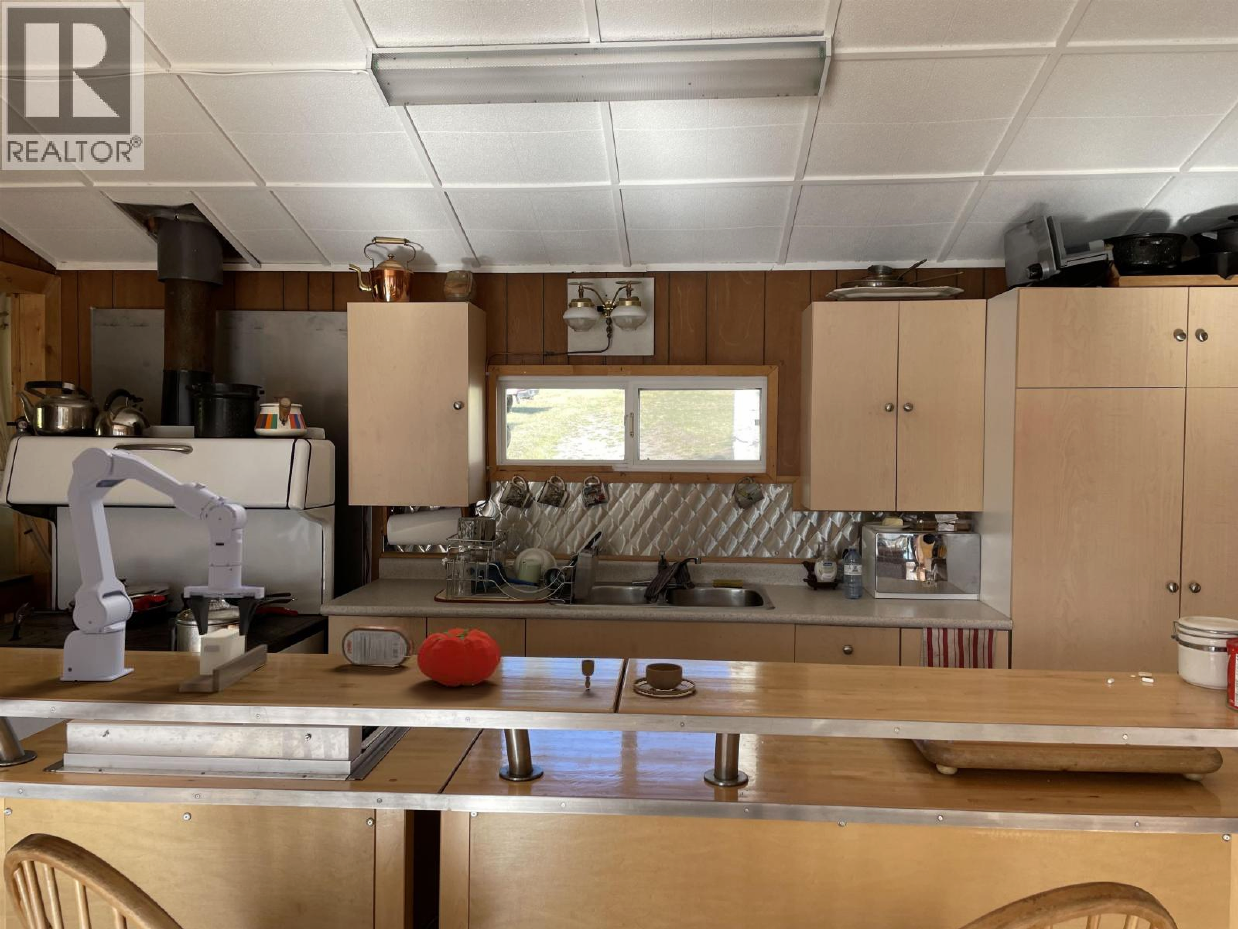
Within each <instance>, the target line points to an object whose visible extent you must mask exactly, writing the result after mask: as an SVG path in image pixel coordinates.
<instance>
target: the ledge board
mask: <svg viewBox="0 0 1238 929" xmlns="http://www.w3.org/2000/svg"><path fill="white" fill-rule="evenodd" d="M266 662H268V644H260V645H258V646H256V647H254V648H252V649H250V650H249V651H246V652H244V654H242V655H240V656H238V657H237V658H235V659H233V660H231V661H229V662H227V663H225V664H223V665H221V666H219V667H217V668H215V669H213V675H200V672H199V673H198V674H196V675H193V676H192V677H190V678H187V679H185V680H184V681H182V682H180V683H179V690H178V691H179V693H180V692H181V693H192V692H193V693H219V692H221V691H223V690H225V689H226V688H228V687H230V686H231V685H233V684H235V683H237V682H239V681H240V680H242V679H244V678H245V677H247V676H248V675H247V674H249V673H250V672H251V671H254V670H255V669H257V668H258V667H260V666H261V665H263V664H265V663H266ZM257 670H258V669H257ZM254 672H255V671H254ZM250 674H251V673H250ZM250 674H249V675H250ZM246 675H247V676H246Z"/></svg>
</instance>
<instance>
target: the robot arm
mask: <svg viewBox="0 0 1238 929" xmlns="http://www.w3.org/2000/svg"><path fill="white" fill-rule="evenodd" d="M71 465H72V470H73V473H72V476H71V479H70V482H69V485H68V488H67V494H66V496H67V501H68V502H67V503H68V506H69V513H70V517H71V524H72V529H73V535H74V541H75V548H76V553H77V559H78V564H79V570H80V576H81V582H82V584H81V585H80V587H79V588H78V590H77V591H76V593H75V595H74V599H75V600H74V601H75V607H74V609H73V613H72V619H73V622H74V624H75V626H76V627H77V628H78V630H77V629H76V630H73V631H71V632H70V633H69V634H68V635H67V637H66V638H65V641H64V646H63V664H62V667H63V668H62V669H63V670H62V677H60V679H59V681H75V680H77V682H78V681H84V682H85V681H87V682H88V681H93V682H96V681H98V682H100V681H102V682H103V681H104V682H106V681H107V682H108V681H113V680H116V679H118V678H120V677H123V676H125V675H127V674H130V673H132V672H134V671H135V670H134V668H125V647H126V645H125V643H126V641H125V639H126V624H127V620H130V618H131V617H132V614H133V611H134V605H133V602H132V599H131V598H130V597H129V595H128V594H127V592H126V587H125V585H124V584H123V582H122V581H120V580H119V579H118V578H117V576H116V573H115V566H114V565H115V564H114V559H113V555H112V548H111V543H110V537H109V532H108V526H107V520H106V514H105V509H104V502H103V499H104V498H105V497H106V496H107V495H108V493H109V492H110V491H111V490H112V489H113V488H115V487H117V486H118V485H120V484H121V483H123V482H125V481H127V480H136V481H138V482H140V483H142V484H144V485H146V486H148V487H150V488H152V489H154V490H156V491H158V492H160V493H162V494H164V495H166V496H168V497H170V498H171V499H172V501H173V506H174V507H175V509H178V510H180V511H182V512H184V513H185V514H187V515H189V516H191V517H192V518H194V519H196V520H198V521H200V522H202V523H204V525H205V527H206V529H207V531H209V556H208V557H209V558H208V559H209V561H208V582H207V583H208V585H201V586H199V585H198V586H195V585H194V586H193V585H191V586H190V585H189V586H185V587H184V590H183V598H188V600H186V605H187V607H188V608H189V610H190V612H191V613H192V615H193V618H194V620H195V623H196V627H197V631H198V636H206V635H208V632H209V631H208V630H209V611H210V606H211V601H212V598H231V599H232V598H233V599H234V598H241V599H239V600H238V599H237V605H238V606H237V607H238V614H239V617H238V618H239V624H238V629H239V636H244V635H245V636H246V635H248V631H249V628H250V625H251V621H252V619H253V616H254V614H255V612H256V609H257V607H258V605H259V604H260V602H261V599H262V598H265V587H264V586H263V587H261V586H245V585H242V565H243V564H242V563H243V562H242V561H243V560H242V559H243V530H244V529H243V528H245V527H246V525H247V523H248V518H249V515H248V512H247V510H246V508H245V507H244V506H242V505H241V504H240V503H239V502H234V501H233V502H231V501H230V502H227V498H228V497H226V496H224V495H221V496H219V495H217V494H215V493H213V492H212V491H210V490H208V489H206V487H207V485H206V484H204V483H202V482H197V483H196V482H186V483H183V482H181V481H179V480H178V479H176V478H175V477H173V476H171V475H170V474H168V473H166V472H165V471H163V470H162V469H160V468H158V467H156V466H155V465H154V464H151V463H150V462H149V461H148V460H145V458H143V457H141V456H140V455H136V454H133V453H132V452H130V451H129V450H126V449H123V448H122V449H121V448H119V449H113V448H112V449H111V448H110V449H109V448H101V447H89V448H86V449H84V450H83V451H82V452H81V453H80V454H79V455H78V456H76V458H75V459H74V460H72V462H71ZM131 671H132V672H131Z"/></svg>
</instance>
